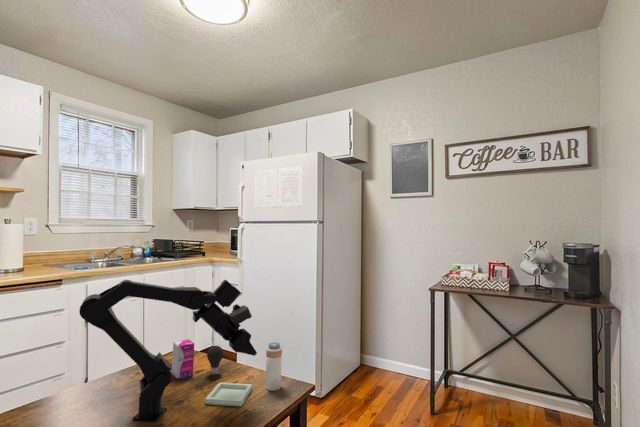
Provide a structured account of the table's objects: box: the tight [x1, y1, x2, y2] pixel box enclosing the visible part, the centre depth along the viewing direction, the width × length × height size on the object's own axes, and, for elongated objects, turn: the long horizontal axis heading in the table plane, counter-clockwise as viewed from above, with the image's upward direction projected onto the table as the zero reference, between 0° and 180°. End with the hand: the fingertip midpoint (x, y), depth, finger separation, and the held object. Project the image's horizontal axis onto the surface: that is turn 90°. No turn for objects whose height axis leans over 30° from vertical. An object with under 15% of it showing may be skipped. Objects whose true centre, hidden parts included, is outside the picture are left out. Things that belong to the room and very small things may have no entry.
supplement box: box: [171, 338, 195, 380], centre depth 123 cm, size 6×6×12 cm
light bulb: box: [206, 345, 224, 376], centre depth 124 cm, size 6×6×10 cm
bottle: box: [265, 341, 283, 392], centre depth 115 cm, size 5×5×14 cm
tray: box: [204, 382, 253, 408], centre depth 108 cm, size 11×11×2 cm
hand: (251, 349), depth 111 cm, fingers open, 9 cm apart
